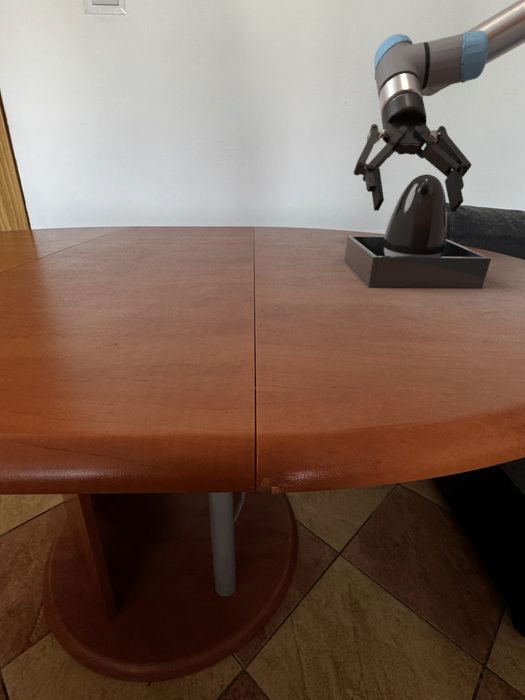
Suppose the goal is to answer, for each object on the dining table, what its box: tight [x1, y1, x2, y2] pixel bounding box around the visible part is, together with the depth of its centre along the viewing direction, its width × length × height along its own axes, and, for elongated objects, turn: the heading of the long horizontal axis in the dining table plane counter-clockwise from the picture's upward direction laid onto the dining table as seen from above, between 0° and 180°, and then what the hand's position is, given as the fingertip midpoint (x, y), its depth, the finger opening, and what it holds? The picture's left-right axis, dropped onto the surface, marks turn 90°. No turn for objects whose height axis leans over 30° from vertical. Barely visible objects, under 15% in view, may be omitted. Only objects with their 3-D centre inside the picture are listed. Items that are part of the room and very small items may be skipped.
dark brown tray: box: [343, 235, 492, 289], centre depth 66 cm, size 19×17×5 cm
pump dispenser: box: [383, 174, 448, 257], centre depth 64 cm, size 10×10×15 cm
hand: (418, 206), depth 64 cm, fingers open, 13 cm apart
